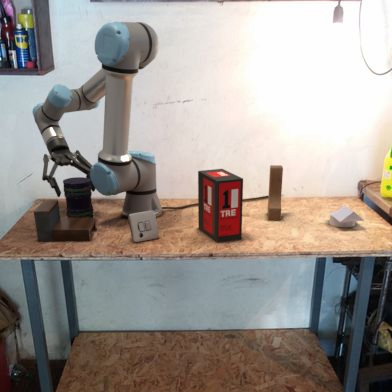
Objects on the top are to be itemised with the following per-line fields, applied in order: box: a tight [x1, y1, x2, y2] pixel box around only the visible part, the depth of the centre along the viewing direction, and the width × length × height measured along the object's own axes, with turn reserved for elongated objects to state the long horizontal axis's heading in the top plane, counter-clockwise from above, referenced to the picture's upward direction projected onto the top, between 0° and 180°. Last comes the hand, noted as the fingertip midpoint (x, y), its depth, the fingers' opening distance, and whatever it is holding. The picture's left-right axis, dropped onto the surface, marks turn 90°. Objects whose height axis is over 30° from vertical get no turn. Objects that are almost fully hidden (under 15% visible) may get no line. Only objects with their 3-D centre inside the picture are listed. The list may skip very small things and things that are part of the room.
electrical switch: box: [127, 210, 160, 243], centre depth 192 cm, size 9×5×9 cm, turn 121°
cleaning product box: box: [197, 168, 244, 244], centre depth 193 cm, size 16×9×20 cm, turn 22°
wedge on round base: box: [329, 204, 365, 228], centre depth 203 cm, size 9×7×13 cm
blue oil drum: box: [62, 176, 95, 218], centre depth 209 cm, size 10×10×15 cm
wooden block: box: [267, 164, 284, 221], centre depth 211 cm, size 9×4×18 cm, turn 176°
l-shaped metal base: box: [33, 199, 97, 242], centre depth 196 cm, size 18×14×10 cm
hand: (77, 192), depth 208 cm, fingers open, 13 cm apart
